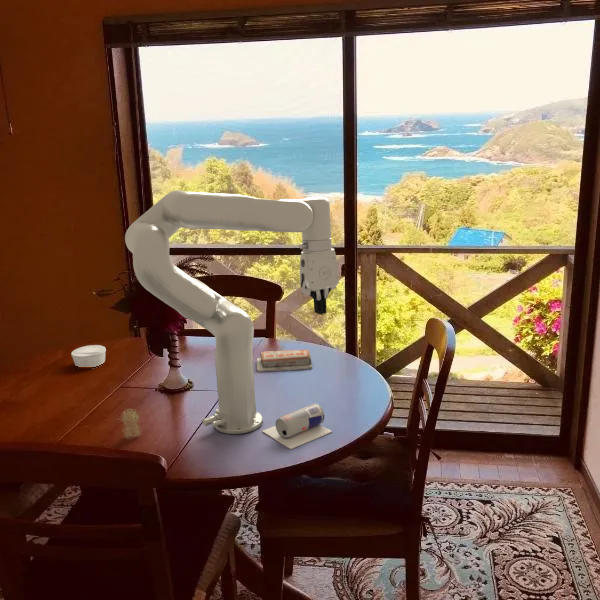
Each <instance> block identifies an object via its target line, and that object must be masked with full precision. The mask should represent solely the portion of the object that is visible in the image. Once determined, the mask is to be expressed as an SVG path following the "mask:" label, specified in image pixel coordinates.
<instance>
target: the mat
mask: <svg viewBox="0 0 600 600" xmlns="http://www.w3.org/2000/svg"><path fill="white" fill-rule="evenodd" d="M261 432H262V433H264V435H267V436H268V437H270V438H272V439H273V440H275V441H277V442H278V443H280V444H281V445H283V446H284V447H286V448H288V449H289V450H293V449H295V448H297V447H299V446H302V445H305V444H307V443H309V442H312V441H314V440H317V439H319V438H322V437H324V436H326V435H329V434H331V433H333V430H331V429H329V428H327V427H325V426H323V425H321V424H318V425H316V426H314V427H312V428H309V429H307V430H305V431H302V432H300V433H298V434H295V435H293V436H291V437H289V438H283V437H281V436H280V435H279V434H278V432H277V429H276V425H273V426H271V427H269V428H266V429H263V430H261Z"/></svg>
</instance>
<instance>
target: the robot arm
mask: <svg viewBox="0 0 600 600" xmlns="http://www.w3.org/2000/svg"><path fill="white" fill-rule="evenodd" d="M330 206H331V205H330V200H329V198H327V197H324V196H310V197H306V198H303V199H302V198H301V199H295V198H293V199H292V198H281V199H267V198H259V197H254V196H249V195H242V194H237V193H218V192H217V193H214V192H200V191H199V192H197V191H187V190H172V191H171V192H168V193H167V194H165V195H164V196H163V197H162V198H160V200H158V201H157V202H156V203H155V204H153V205H152V206H151V207H150V208H149V209H148V210H147V211H145V212H144V213H143V214H142V215H141V216H139V217H138V218H137V219H136V220H135V221H134V222H132V223H131V224H130V226H129V227H128V229H127V230H126V232H125V234H124V242H125V245H126V248H127V249H128V250H129V251H130V253H132V266H133V267H132V268H133V270H134V274H135V277H136V279H137V281H138V282H139V283H140V285H141V286H142V287H143V288H144V289H145V290H146V291H148V292H149V293H150V294H152V295H153V296H154V297H156V298H158V299H159V300H160V301H162V302H163V303H164V304H166V305H168V306H169V307H171V308H172V309H174V310H175V311H177V313H179V314H180V315H181V316H182V317H184V318H185V319H187V320H189V321H193V323H196V324H197V325H199V326H201V327H202V328H204V329H205V330H207V331H208V332H209V333H211V334H212V335H213V336H214V337H215V349H214V350H215V352H214V357H215V358H214V361H215V362H214V363H215V365H214V366H215V373H216V385H217V386H216V387H217V388H216V389H217V399H218V408H215V413H214V414H212V416H208V417H204V418H202V424H203V426H204V427H208V426H210V425H211V426H212V427H213V428H215V430H217V431H219V432H220V433H223V434H227V435H229V434H230V435H241V434H246V433H250V432H253V431H255V430H257V429H259V428H260V427H261V426H262V425H263V422H264V421H263V416H262V414H261V413H260V412H258V411H257V408H256V391H255V389H256V388H255V376H254V375H255V374H254V360H253V358H254V357H253V348H254V346H253V344H254V337H255V335H254V334H255V332H254V331H255V328H254V324H253V320H252V318H251V316H250V315H249V314H248V313H247V311H245V310H244V309H243V308H241V307H240V306H238V305H236V304H234V303H233V302H231V301H229V300H228V299H227V298H225V297H224V296H222V295H220V294H219V293H217V292H216V291H214V290H213V289H212V288H210V287H209V286H208V285H207V284H205V283H204V282H202V281H201V280H199V279H197V278H195V277H191V276H190V275H189V274H187V273H186V272H185V271H184V270H182V269H180V268H179V266H178V267H177V266H176V265H175V264H174V263H173V261H172V260H171V257H170V245H171V244H170V238H172V236H173V235H174V234H175V233H177V231H179V230H180V229H181V228H183V229H189V230H191V229H192V230H196V229H197V230H224V231H227V230H229V231H243V232H247V231H248V232H251V231H252V232H254V231H255V232H270V233H271V232H272V233H273V232H274V233H301V239H302V240H301V243H299V248H300V250H302V251H301V252H300V258H299V259H300V260H299V285H300V288H301V294H302V295H304V296H309V297H310V298H311V299H312V300H313V310H314V313H315V314H319V315H323V314H327V299H328V298H329V294H330V292H331V291H333V290H334V289H336V288H337V286H338V285H339V284H340V274H339V266H338V265H339V264H338V259H337V255H336V251H335V248H333V247H332V230H331V229H332V227H331V226H332V225H331V207H330Z"/></svg>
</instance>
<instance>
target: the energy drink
mask: <svg viewBox="0 0 600 600" xmlns="http://www.w3.org/2000/svg"><path fill="white" fill-rule="evenodd" d="M324 421H325V412H324V410H323V408H322V407H321V406H320V405H319V404H318V403H315V402H314V403H312V404H309V405H306V406H304V407H302V408H299V409H296V410H294V411H291V412H289V413H287V414H284V415H282V416H279V417H278V418H277V420H275V426H276V429H277V432H278V434H279V435H280V436H281V437H283V438H289V437H291V436H293V435H295V434H298V433H300V432H302V431H305V430H307V429H309V428H312V427H314V426H316V425H318V424H320V425H321V424H322V423H324Z"/></svg>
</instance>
